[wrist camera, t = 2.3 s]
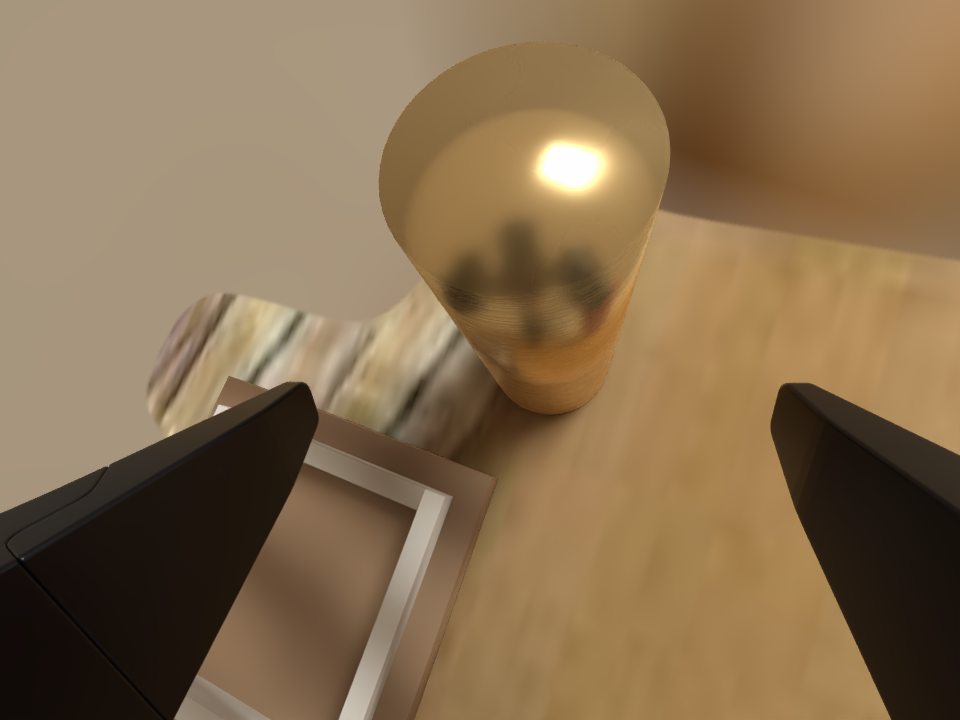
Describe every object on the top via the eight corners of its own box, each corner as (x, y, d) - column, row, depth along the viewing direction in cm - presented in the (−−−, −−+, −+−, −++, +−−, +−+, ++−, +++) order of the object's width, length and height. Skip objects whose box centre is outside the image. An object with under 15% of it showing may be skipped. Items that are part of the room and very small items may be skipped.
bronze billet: (616, 410, 19) (694, 273, 7) (496, 418, 20) (376, 310, 8) (602, 297, 21) (646, 16, 8) (490, 310, 21) (381, 71, 9)
